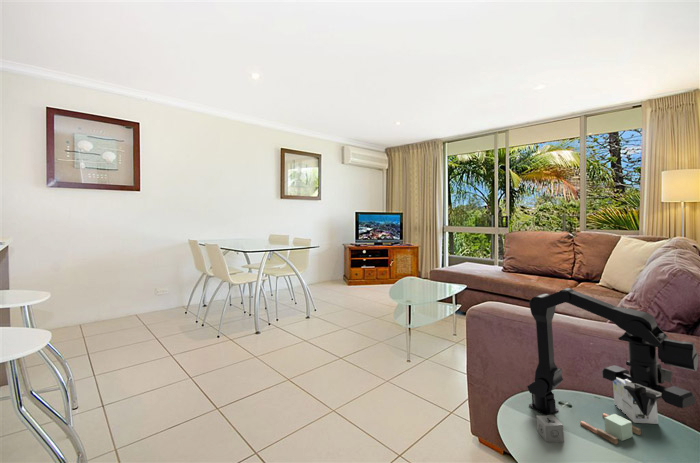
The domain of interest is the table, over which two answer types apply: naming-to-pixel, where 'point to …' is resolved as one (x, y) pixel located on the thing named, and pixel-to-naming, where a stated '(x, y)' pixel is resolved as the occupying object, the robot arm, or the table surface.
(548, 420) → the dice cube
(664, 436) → the table surface
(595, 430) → the pair of wooden sticks
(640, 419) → the light bulb box
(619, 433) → the sage block
